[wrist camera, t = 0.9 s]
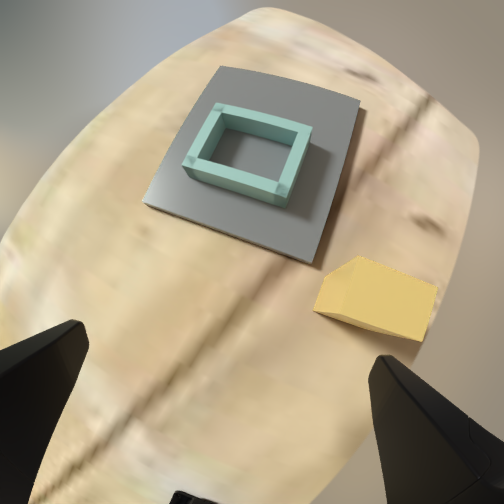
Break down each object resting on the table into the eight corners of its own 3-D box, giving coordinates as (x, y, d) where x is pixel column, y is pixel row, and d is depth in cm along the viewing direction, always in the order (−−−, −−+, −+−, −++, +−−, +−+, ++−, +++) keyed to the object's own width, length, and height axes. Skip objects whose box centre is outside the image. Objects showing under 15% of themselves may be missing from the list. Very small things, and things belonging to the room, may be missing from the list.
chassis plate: (310, 264, 24) (316, 257, 20) (146, 205, 26) (129, 191, 22) (358, 106, 26) (365, 85, 23) (221, 71, 28) (216, 50, 25)
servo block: (366, 329, 22) (422, 342, 12) (312, 310, 23) (339, 313, 13) (377, 296, 23) (437, 287, 13) (325, 276, 23) (358, 255, 13)
